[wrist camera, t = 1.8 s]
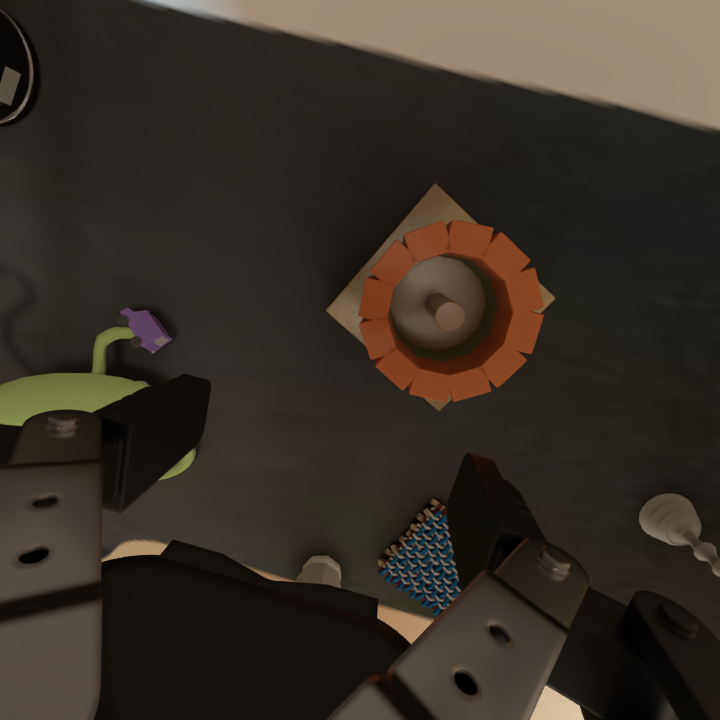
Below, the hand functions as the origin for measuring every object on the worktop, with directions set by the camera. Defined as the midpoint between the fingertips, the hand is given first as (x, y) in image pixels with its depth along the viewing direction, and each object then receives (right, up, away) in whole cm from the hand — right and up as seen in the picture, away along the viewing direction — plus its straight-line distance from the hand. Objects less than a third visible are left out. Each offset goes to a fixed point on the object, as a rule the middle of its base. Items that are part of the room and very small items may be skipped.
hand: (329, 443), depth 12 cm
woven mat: (+10, -18, +30) cm, 36 cm away
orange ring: (+7, +6, +18) cm, 21 cm away
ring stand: (+8, +8, +23) cm, 26 cm away
